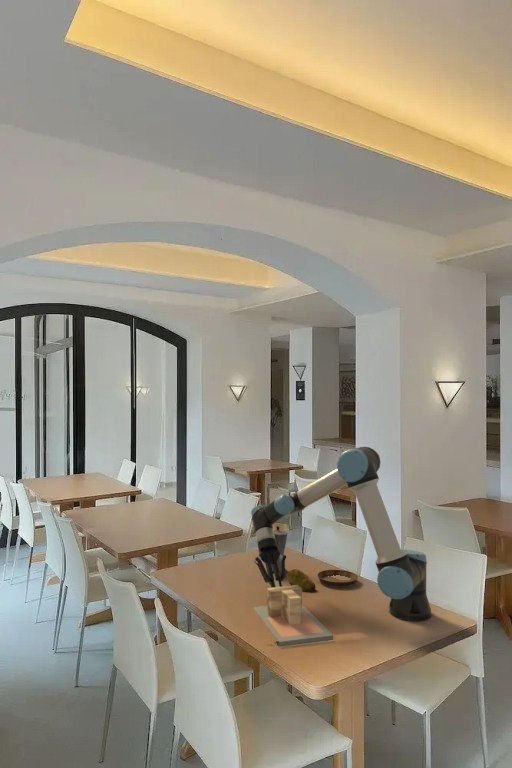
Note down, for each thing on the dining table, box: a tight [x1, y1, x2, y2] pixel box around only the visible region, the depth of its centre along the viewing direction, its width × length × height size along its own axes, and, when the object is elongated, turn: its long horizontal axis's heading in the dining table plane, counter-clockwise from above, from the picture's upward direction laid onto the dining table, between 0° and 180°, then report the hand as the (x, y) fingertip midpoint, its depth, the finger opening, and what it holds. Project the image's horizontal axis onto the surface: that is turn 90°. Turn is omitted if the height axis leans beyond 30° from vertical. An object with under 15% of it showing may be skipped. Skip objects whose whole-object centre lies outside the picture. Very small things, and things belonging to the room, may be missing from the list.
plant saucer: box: [316, 569, 359, 588], centre depth 234 cm, size 18×18×3 cm
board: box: [252, 604, 334, 647], centre depth 188 cm, size 30×19×2 cm, turn 17°
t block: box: [266, 585, 303, 625], centre depth 191 cm, size 12×12×9 cm
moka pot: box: [265, 526, 289, 573], centre depth 249 cm, size 10×15×20 cm, turn 148°
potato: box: [286, 568, 316, 593], centre depth 222 cm, size 8×13×8 cm, turn 29°
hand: (279, 599), depth 197 cm, fingers closed
